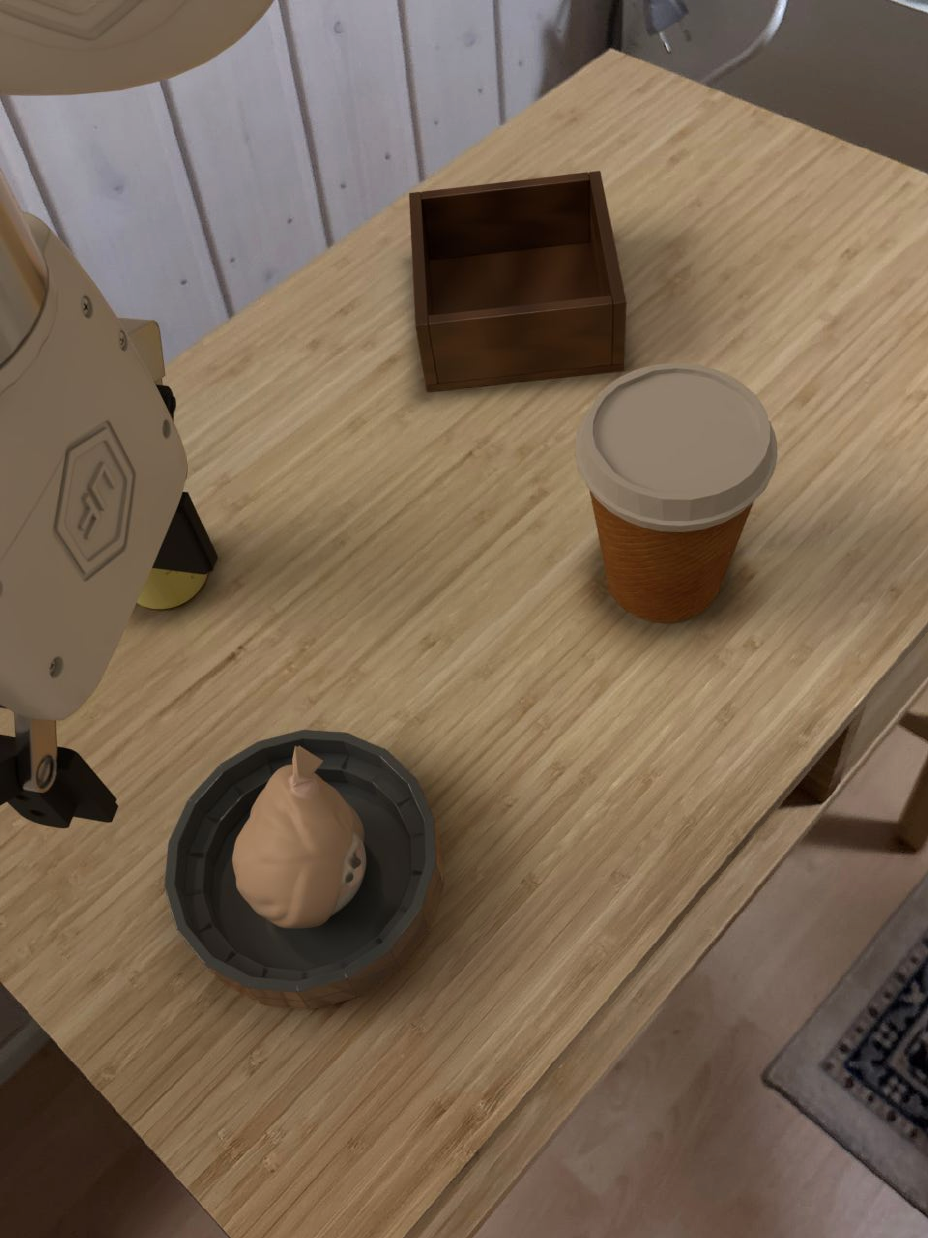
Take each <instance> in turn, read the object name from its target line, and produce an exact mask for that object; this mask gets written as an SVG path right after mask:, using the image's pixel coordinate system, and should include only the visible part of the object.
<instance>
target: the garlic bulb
mask: <svg viewBox="0 0 928 1238" xmlns="http://www.w3.org/2000/svg"><path fill="white" fill-rule="evenodd" d="M322 762H323V760H321V759H320V758H318V757H316V756H315V755H313V754H312V753H310V752H308V751H307V750H305V749H304V748H302V747H301V746H298V747H297V746H295V749H294V753H293V758H292V765H287V766H284V767H281V768H280V769H278V770H277V771H276V772H275V773H274V774H273V775H272V777H271V778H270V779H269V781H268V783H267V784H266V786H265V788H264V789H263V790H262V792H261V793H260V795H259V796H258V798H257V800H256V802H255V803H254V805H253V807H252V809H251V814H250V818H249V819H248V821H247V822H246V824H245V825H244V827H243V828H242V830H241V832H240V833H239V835H238V837H237V839H236V841H235V845H234V851H233V856H232V863H233V869H234V873H235V876H236V886H237V889H238V891H239V892H240V894H241V895H242V896H243V898H244V899H245V900H246V901H247V902H248V903H249V904H250V906H251V907H252V908H253V909H254V910H255V911H256V912H257V913H258V914H259V915H261V916H262V917H264V918H266V919H267V920H269V921H270V922H272V923H273V924H275V925H277V926H279V927H282V928H289V929H303V928H312V927H317V926H320V925H322V924H323V923H325V922H326V921H327V920H328V919H329V917H330V916H332V915H333V914H335V913H337V912H338V911H340V910H341V909H342V908H343V907H344V906H346V905H347V904H348V903H349V901H350V900H351V899H352V898H353V897H354V895H355V894H356V892H357V891H358V889H359V887H360V885H361V883H362V880H363V878H364V874H365V869H366V852H365V848H364V844H363V843H364V828H363V824H362V822H361V820H360V818H359V816H358V814H357V813H356V812H355V810H354V809H353V808H352V807H351V806H350V805H349V804H348V803H347V802H346V801H345V799H344V798H343V797H342V796H341V795H340V794H339V792H338V791H337V790H336V789H335V788H333V787H332V786H331V785H329V784H328V783H326V782H325V781H323V780H322V779H321V778H320V777H319V776H318V775H317V774H316V773H315V771H316V770H317V769H318V767H319V766H320V765H321V763H322Z"/></svg>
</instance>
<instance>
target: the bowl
mask: <svg viewBox="0 0 928 1238" xmlns="http://www.w3.org/2000/svg"><path fill="white" fill-rule="evenodd" d="M295 746H297V747H298V746H301V747H302V748H304V749H305V750H307V751H308V752H310V753H312V754H313V755H315V756H316V757H318V758H320V759H321V760H323V762H322V763H321V765H320V766H319V767H318V769H317V770H316V771H315V773H316V774H317V775H318V776H319V777H320V778H321V779H322V780H323V781H325V782H326V783H328V784H329V785H331V786H332V787H333V788H335V789H336V790H337V791H338V792H339V794H340V795H341V796H342V797H343V798H344V799H345V801H346V802H347V803H348V804H349V805H350V806H351V807H352V808H353V809H354V810H355V812H356V813H357V814H358V816H359V818H360V820H361V822H362V824H363V828H364V843H363V844H364V848H365V852H366V869H365V874H364V878H363V880H362V883H361V885H360V887H359V889H358V891H357V892H356V894H355V895H354V897H353V898H352V899H351V900H350V901H349V903H348V904H347V905H346V906H344V907H343V908H342V909H341V910H340V911H338V912H337V913H335V914H333V915H332V916H330V917H329V919H328V920H327V921H326V922H325V923H323V924H322V925H320V926H317V927H312V928H303V929H289V928H282V927H279V926H277V925H275V924H273V923H272V922H270V921H269V920H267V919H266V918H264V917H262V916H261V915H259V914H258V913H257V912H256V911H255V910H254V909H253V908H252V907H251V906H250V904H249V903H248V902H247V901H246V900H245V899H244V898H243V896H242V895H241V894H240V892H239V891H238V889H237V886H236V876H235V873H234V869H233V863H232V856H233V851H234V845H235V841H236V839H237V837H238V835H239V833H240V832H241V830H242V828H243V827H244V825H245V824H246V822H247V821H248V819H249V818H250V814H251V809H252V807H253V805H254V803H255V802H256V800H257V798H258V796H259V795H260V793H261V792H262V790H263V789H264V788H265V786H266V784H267V783H268V781H269V779H270V778H271V777H272V775H273V774H274V773H275V772H276V771H277V770H278V769H280V768H281V767H284V766H287V765H292V758H293V753H294V749H295ZM177 820H178V821H177V823H176V824H175V827H174V829H173V831H172V832H171V836H170V838H169V840H168V843H167V853H166V854H167V855H166V865H165V878H164V891H165V892H164V893H165V895H166V898H167V902H168V905H169V908H170V912H171V916H172V918H173V922H174V926H175V929H176V932H177V933H178V934H179V936H181V938H182V939H183V941H184V942H185V943H186V944H187V945H188V946H189V948H190V949H191V950H192V951H193V953H194V954H195V955H196V956H197V957H198V959H199V960H200V961H201V963H202V964H203V965H204V966H205V967H206V968H207V969H208V970H209V971H210V972H211V974H213V976H215V978H217V980H219V982H220V983H222V984H223V985H224V986H226V987H228V988H230V989H232V990H233V991H236V992H237V993H238V994H241V995H243V996H245V997H247V998H249V999H251V1000H252V1001H255V1002H256V1003H258V1004H260V1005H264V1006H268V1007H277V1008H288V1009H297V1010H306V1011H307V1010H308V1011H310V1010H316V1009H319V1008H322V1007H327V1006H331V1005H335V1004H338V1003H342V1002H346V1001H349V1000H353V999H357V998H360V997H361V996H363V995H364V994H366V993H367V992H369V991H370V990H371V989H373V988H374V987H376V986H377V985H379V984H380V983H383V981H385V980H387V979H388V978H389V977H391V976H392V975H394V974H395V973H397V972H398V971H399V970H400V969H401V968H402V967H403V966H404V964H405V962H407V960H408V959H409V957H410V956H411V955H412V953H413V952H414V950H415V949H416V948H417V947H418V946H419V944H420V942H422V940H423V939H424V938H425V936H426V935H427V933H428V932H429V930H430V929H431V926H432V922H433V920H434V916H435V913H436V909H437V906H438V903H439V900H440V897H441V894H442V891H443V888H444V870H443V851H442V850H443V847H442V841H441V837H440V833H439V829H438V826H437V822H436V819H435V816H434V814H433V812H432V809H431V807H430V805H429V803H428V801H427V798H426V796H425V794H424V791H423V790H422V787H421V785H420V783H419V780H418V779H417V777H416V776H415V775H414V774H413V773H412V772H410V771H409V769H407V767H405V765H404V764H402V763H401V761H399V760H398V759H397V758H396V757H395V756H394V755H393V754H392V753H391V752H390V751H389V750H387V749H386V748H384V747H382V746H379V745H377V744H375V743H372V742H370V741H368V740H365V739H363V738H360V737H358V736H356V735H353V734H352V733H349V732H346V731H345V732H343V731H330V730H329V731H326V730H313V729H312V730H310V729H300V730H296V731H294V732H293V731H292V732H289V733H284V734H281V735H277V736H273V737H269V738H264V739H261V740H258V741H256V742H254V743H253V744H251V745H249V746H248V747H246V748H244V749H243V750H241V751H240V752H237V753H236V754H235V755H233V756H231V757H229V758H228V759H226V760H225V761H223V762H221V763H220V764H219V765H217V766H216V768H215V769H214V770H213V771H212V772H211V773H210V774H209V776H208V777H206V779H205V780H204V781H203V782H202V783H201V784H200V785H199V787H198V788H197V789H196V790H195V791H194V792H193V793H192V794H191V795H190V796H189V797H188V799H187V800H186V802H185V804H184V807H183V809H182V811H181V813H180V816H179V818H178V819H177Z"/></svg>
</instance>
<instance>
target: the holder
mask: <svg viewBox="0 0 928 1238" xmlns="http://www.w3.org/2000/svg"><path fill="white" fill-rule="evenodd" d="M408 204H409V224H410V225H409V227H410V228H409V229H410V247H411V264H412V266H411V267H412V268H411V269H412V270H411V271H412V281H413V282H412V284H413V285H412V287H413V288H412V289H413V311H414V327H415V333H416V339H417V344H418V351H419V357H420V362H421V368H422V374H423V380H424V386H425V391H426V392H436V391H437V392H438V391H445V390H457V389H465V388H474V387H483V386H493V385H501V384H503V385H504V384H510V383H519V382H520V383H521V382H529V381H530V382H531V381H538V380H548V379H556V378H565V377H576V376H585V375H592V374H593V375H594V374H595V375H596V374H603V373H613V372H621V371H622V372H623V371H625V357H626V356H625V355H626V327H627V297H626V293H625V289H624V288H625V287H624V282H623V278H622V273H621V267H620V263H619V258H618V252H617V248H616V242H615V237H614V232H613V227H612V223H611V222H612V221H611V217H610V211H609V207H608V203H607V197H606V191H605V186H604V181H603V176H602V172H601V170H595V171H589V172H587V171H586V172H578V173H570V174H560V175H551V176H544V177H543V176H542V177H535V178H526V179H525V178H524V179H517V180H508V181H501V182H493V183H484V184H475V185H474V184H473V185H468V186H466V185H465V186H456V187H449V188H442V189H441V188H440V189H439V188H438V189H432V190H423V191H413V192H409V193H408Z"/></svg>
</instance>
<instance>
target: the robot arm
mask: <svg viewBox="0 0 928 1238" xmlns="http://www.w3.org/2000/svg"><path fill="white" fill-rule="evenodd" d="M274 2H275V0H0V96H22V97H23V96H25V97H31V96H33V97H35V96H36V97H37V96H38V97H40V96H45V97H46V96H47V97H48V96H77V95H88V94H97V93H98V94H99V93H100V94H101V93H109V92H118V91H124V90H129V89H133V88H138V87H143V86H146V85H152V84H154V83H159V82H163V81H167V80H170V79H172V78H175V77H178V76H180V75H181V74H184V73H186V72H188V71H191V70H194V69H196V68H198V67H200V66H203V65H205V64H206V63H208V62H210V61H211V60H214V59H215V58H217V57H218V56H220V55H221V54H222V53H223V52H225V51H227V50H228V49H229V48H231V47H232V46H234V45H235V44H236V43H237V42H239V41H240V40H242V38H243V37H245V36H246V35H247V34H248V33H249V32H250V30H251V29H252V28H254V26H256V24H257V23H258V22H259V21H260V20H261V19H262V18H263V17H264V16H265V14H266V13H267V12H268V11H269V9H270V8H271V6H272V5H273V3H274ZM162 342H163V341H162V334H161V329H160V326H159V324H158V321H156V320H155V319H144V318H132V317H121V316H120V317H118V316H117V314H116V313H115V311H114V310H113V308H112V306H111V305H110V303H109V302H108V301H107V299H106V297H104V295H103V293H102V291H101V290H100V289H99V287H98V286H97V284H96V282H95V281H94V280H93V278H91V276H90V275H89V273H88V272H87V271H86V270H85V268H84V267H83V266H82V264H81V263H80V262H79V260H78V259H77V257H76V256H75V255H74V254H73V252H72V251H71V250H70V249H69V248H68V246H67V245H66V244H65V243H64V242H63V241H62V240H61V239H60V238H59V237H58V235H57V234H55V232H54V231H53V230H52V229H51V228H50V227H49V225H48V224H46V222H44V220H42V219H41V218H40V217H38V216H36V215H35V214H33V213H31V212H27V211H25V210H22V208H21V206H20V204H19V202H18V200H17V198H16V196H15V194H14V192H13V190H12V187H11V186H10V184H9V181H8V179H7V178H6V176H5V174H4V172H3V170H2V167H1V166H0V708H1V709H6V710H9V711H11V712H12V713H13V722H14V723H13V724H14V736H12V735H7V734H6V735H5V734H0V807H1V806H2V805H4V804H6V803H7V804H8V805H9V806H11V808H13V809H14V810H15V812H16V813H18V814H19V815H20V816H21V817H23V818H24V819H26V820H27V821H30V822H32V823H34V824H38V825H41V826H46V827H50V828H57V829H68V828H69V827H70V826H71V823H72V821H73V818H78V819H82V820H83V819H84V820H89V821H94V822H100V823H107V824H109V823H110V824H111V823H113V821H114V819H115V816H116V813H117V811H118V808H119V804H118V803H117V797H116V796H115V795H114V794H113V792H112V791H111V790H110V789H109V788H108V786H107V785H106V784H105V783H104V782H103V780H102V779H101V778H100V776H98V775H97V774H96V772H95V771H94V770H93V769H92V768H91V766H90V765H89V764H88V762H86V760H85V759H84V758H83V757H82V756H81V754H80V753H79V752H77V751H76V750H74V749H72V748H69V747H65V746H59V745H58V738H57V737H58V736H57V721H59V722H60V721H64V720H66V719H68V718H69V717H70V718H71V716H73V715H74V714H75V713H76V712H78V711H79V710H80V709H81V708H82V707H83V706H84V705H85V704H86V702H87V701H88V700H89V699H90V698H91V696H92V695H93V694H94V692H95V691H96V689H98V686H99V684H100V683H101V681H102V680H103V677H104V675H105V673H106V671H107V670H108V667H109V665H110V663H111V661H112V659H113V657H114V654H115V652H116V650H117V648H118V646H119V643H120V641H121V639H122V637H123V635H124V632H125V630H126V628H127V626H128V623H129V621H130V619H131V616H132V614H133V612H134V609H136V605H137V604H138V603H137V601H138V599H139V596H140V594H141V592H142V589H143V587H144V585H145V583H146V580H147V578H148V576H149V573H150V571H151V569H152V568H156V569H163V570H171V571H179V572H187V573H194V574H202V575H205V574H207V575H208V573H212V572H213V570H214V569H215V566H216V564H217V562H218V559H219V556H218V553H217V551H216V550H215V547H214V545H213V543H212V541H211V539H210V537H209V534H208V532H207V530H206V527H205V526H204V524H203V522H202V519H201V517H200V514H199V513H198V511H197V509H196V506H195V505H194V502H193V500H192V498H191V495H190V494H189V492H188V491H184V487H185V484H186V482H187V477H188V471H189V468H188V467H189V465H188V464H189V463H188V457H187V453H186V450H185V447H184V446H185V445H184V444H183V440H182V439H181V435H180V433H179V431H178V429H177V426H176V423H175V412H176V408H177V399H176V397H175V396H174V391H173V390H172V388H171V387H170V386H169V385H166V384H164V382H163V378H164V377H166V367H165V359H164V352H163V351H164V350H163V344H162Z"/></svg>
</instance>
